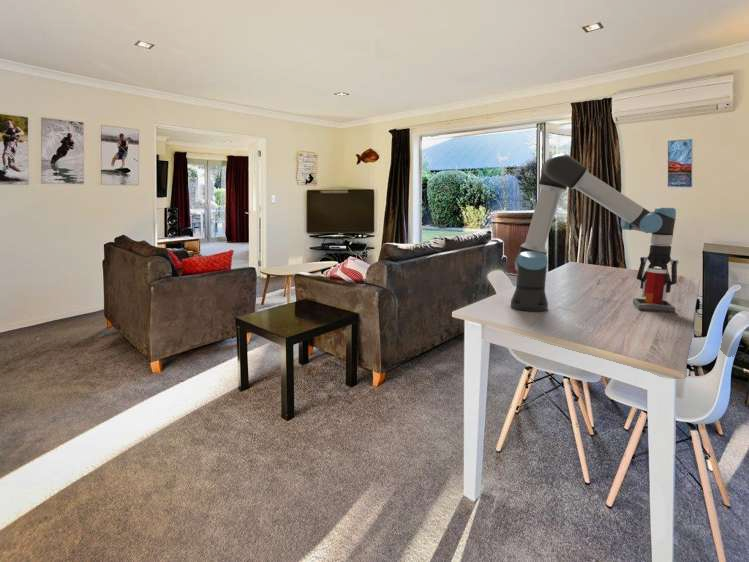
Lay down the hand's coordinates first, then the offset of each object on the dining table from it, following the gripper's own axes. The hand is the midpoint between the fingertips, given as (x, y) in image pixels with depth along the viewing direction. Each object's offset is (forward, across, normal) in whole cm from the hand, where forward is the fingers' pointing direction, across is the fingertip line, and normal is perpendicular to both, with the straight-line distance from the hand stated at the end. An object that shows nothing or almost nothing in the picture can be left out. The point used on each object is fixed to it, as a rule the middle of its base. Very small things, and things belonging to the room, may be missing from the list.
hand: (653, 298), depth 189 cm
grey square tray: (+4, 0, 0) cm, 4 cm away
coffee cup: (+2, 0, 0) cm, 2 cm away
